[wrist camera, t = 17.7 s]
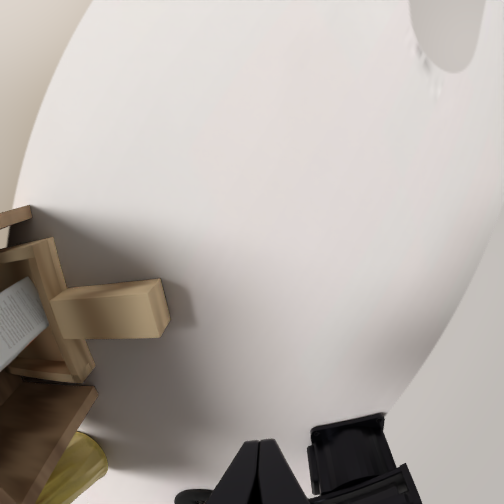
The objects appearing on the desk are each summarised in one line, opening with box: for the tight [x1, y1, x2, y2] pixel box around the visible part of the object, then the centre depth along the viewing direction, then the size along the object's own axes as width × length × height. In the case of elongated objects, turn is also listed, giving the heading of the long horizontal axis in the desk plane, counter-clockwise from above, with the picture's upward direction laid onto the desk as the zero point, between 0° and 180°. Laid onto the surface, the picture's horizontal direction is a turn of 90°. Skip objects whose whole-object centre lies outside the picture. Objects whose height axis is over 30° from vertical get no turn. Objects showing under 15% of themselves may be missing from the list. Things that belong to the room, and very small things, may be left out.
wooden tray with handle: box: [0, 237, 171, 384], centre depth 20 cm, size 18×11×3 cm, turn 98°
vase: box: [35, 432, 108, 504], centre depth 18 cm, size 6×6×14 cm
